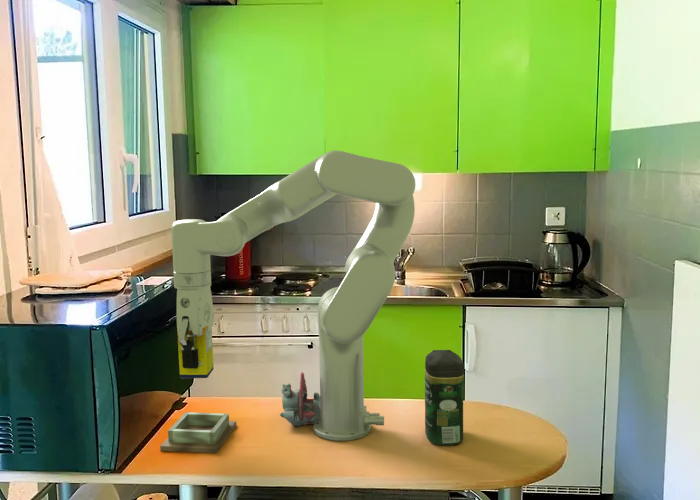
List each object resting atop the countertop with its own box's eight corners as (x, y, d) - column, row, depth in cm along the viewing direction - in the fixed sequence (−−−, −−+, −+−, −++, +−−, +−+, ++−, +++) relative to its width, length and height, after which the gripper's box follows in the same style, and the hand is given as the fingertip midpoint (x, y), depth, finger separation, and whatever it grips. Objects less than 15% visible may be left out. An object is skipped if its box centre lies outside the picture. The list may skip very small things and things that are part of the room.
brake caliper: (332, 417, 150) (296, 376, 148) (294, 447, 151) (258, 407, 150) (334, 399, 161) (301, 361, 160) (299, 427, 162) (266, 389, 161)
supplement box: (186, 369, 148) (184, 320, 146) (214, 369, 148) (212, 320, 146) (179, 378, 142) (176, 327, 140) (207, 378, 142) (205, 327, 140)
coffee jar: (422, 428, 150) (422, 346, 148) (458, 427, 150) (459, 346, 148) (427, 447, 141) (428, 360, 138) (466, 447, 141) (467, 360, 138)
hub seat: (236, 425, 153) (235, 410, 153) (216, 453, 140) (216, 436, 139) (184, 423, 155) (184, 408, 154) (160, 450, 141) (159, 434, 140)
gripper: (195, 288, 133) (199, 376, 136) (222, 271, 150) (226, 350, 153) (158, 287, 134) (163, 375, 137) (189, 271, 151) (193, 350, 154)
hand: (196, 361), depth 145 cm, fingers closed on supplement box, 6 cm apart
